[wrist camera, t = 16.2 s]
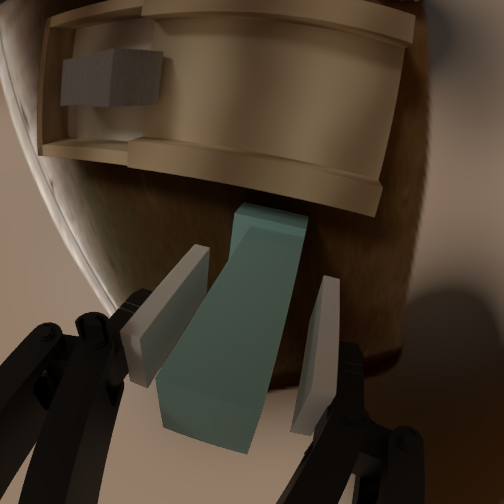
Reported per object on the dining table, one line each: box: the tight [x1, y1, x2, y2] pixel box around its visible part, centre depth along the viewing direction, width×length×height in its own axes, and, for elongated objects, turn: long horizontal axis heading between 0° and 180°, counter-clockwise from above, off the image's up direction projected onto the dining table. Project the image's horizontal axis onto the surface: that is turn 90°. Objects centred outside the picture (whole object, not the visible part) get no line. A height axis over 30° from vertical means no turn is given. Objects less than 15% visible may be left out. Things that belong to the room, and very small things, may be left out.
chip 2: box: [85, 48, 163, 107], centre depth 14 cm, size 3×3×3 cm
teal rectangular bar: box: [155, 202, 309, 454], centre depth 14 cm, size 4×4×13 cm
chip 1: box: [60, 56, 89, 106], centre depth 15 cm, size 3×3×3 cm
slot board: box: [37, 0, 415, 217], centre depth 15 cm, size 22×10×4 cm, turn 82°
